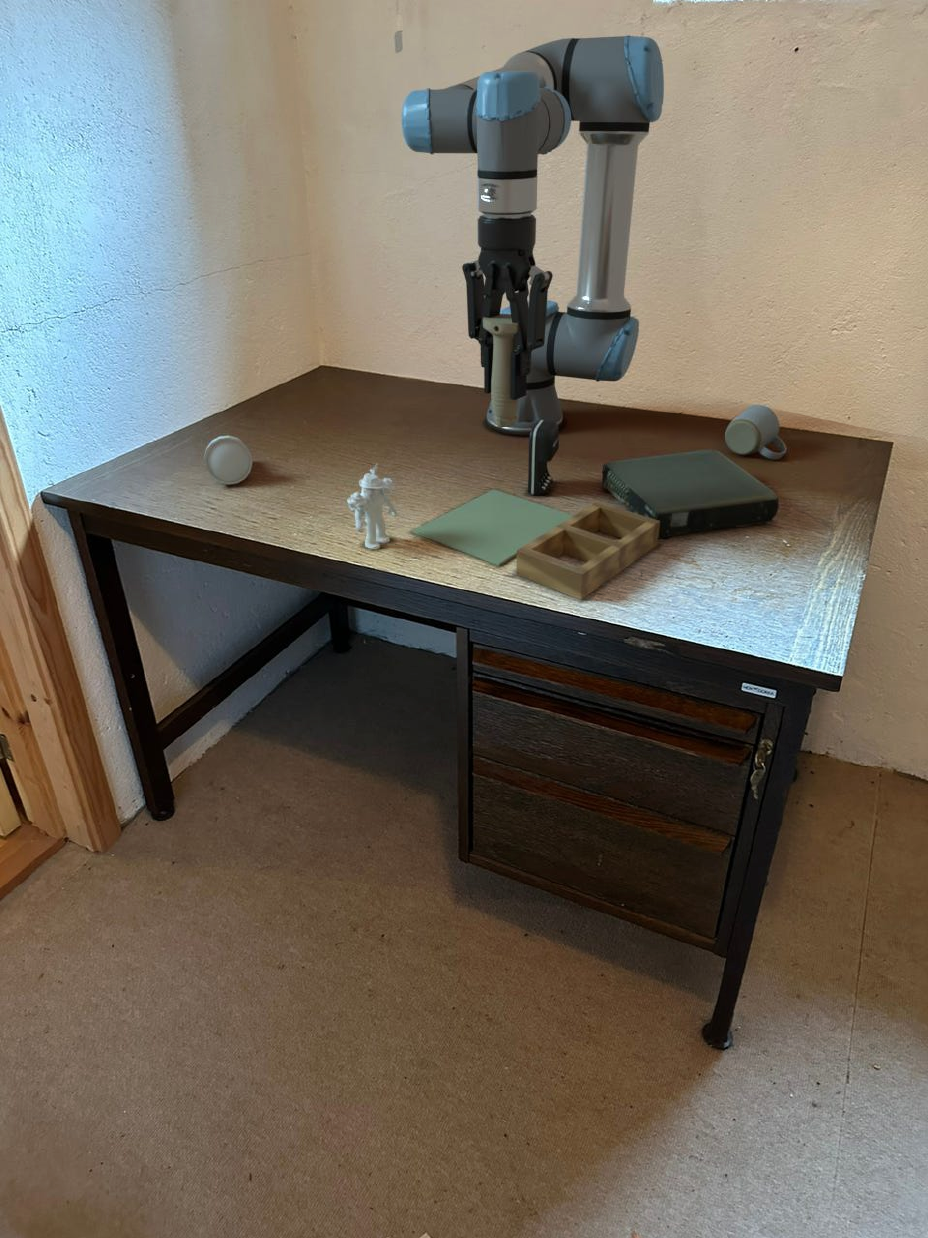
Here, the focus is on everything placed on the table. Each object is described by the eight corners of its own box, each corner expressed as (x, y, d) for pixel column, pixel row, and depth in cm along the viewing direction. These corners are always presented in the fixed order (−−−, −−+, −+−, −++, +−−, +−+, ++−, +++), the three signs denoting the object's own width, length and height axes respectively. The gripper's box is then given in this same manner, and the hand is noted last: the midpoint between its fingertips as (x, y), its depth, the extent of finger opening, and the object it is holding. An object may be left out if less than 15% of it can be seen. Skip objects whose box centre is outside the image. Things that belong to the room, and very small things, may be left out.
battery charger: (549, 498, 143) (551, 432, 137) (526, 495, 144) (528, 430, 138) (558, 482, 148) (561, 418, 142) (537, 479, 149) (539, 416, 143)
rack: (595, 524, 134) (597, 501, 132) (657, 545, 128) (660, 520, 126) (516, 574, 121) (516, 549, 119) (580, 600, 115) (582, 574, 113)
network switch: (586, 490, 145) (588, 462, 143) (702, 468, 152) (706, 441, 150) (662, 549, 127) (666, 518, 124) (790, 521, 134) (797, 492, 131)
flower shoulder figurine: (386, 528, 134) (381, 456, 128) (405, 535, 132) (401, 462, 126) (346, 550, 128) (339, 476, 122) (366, 558, 126) (359, 482, 120)
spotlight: (203, 483, 147) (204, 436, 144) (203, 471, 157) (204, 427, 154) (251, 486, 149) (253, 439, 146) (249, 474, 159) (250, 431, 157)
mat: (493, 491, 146) (493, 488, 145) (576, 518, 136) (576, 516, 136) (413, 532, 133) (413, 530, 133) (498, 566, 123) (498, 563, 123)
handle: (514, 434, 121) (516, 325, 113) (477, 425, 124) (476, 319, 116) (532, 423, 124) (535, 317, 116) (495, 416, 127) (495, 311, 119)
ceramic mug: (719, 452, 158) (725, 412, 154) (737, 439, 164) (744, 400, 160) (774, 466, 153) (783, 425, 149) (791, 452, 158) (800, 412, 154)
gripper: (437, 212, 111) (442, 389, 124) (544, 223, 102) (538, 413, 115) (474, 205, 116) (475, 376, 129) (579, 215, 107) (569, 398, 120)
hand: (505, 393), depth 122 cm, fingers closed on handle, 4 cm apart
